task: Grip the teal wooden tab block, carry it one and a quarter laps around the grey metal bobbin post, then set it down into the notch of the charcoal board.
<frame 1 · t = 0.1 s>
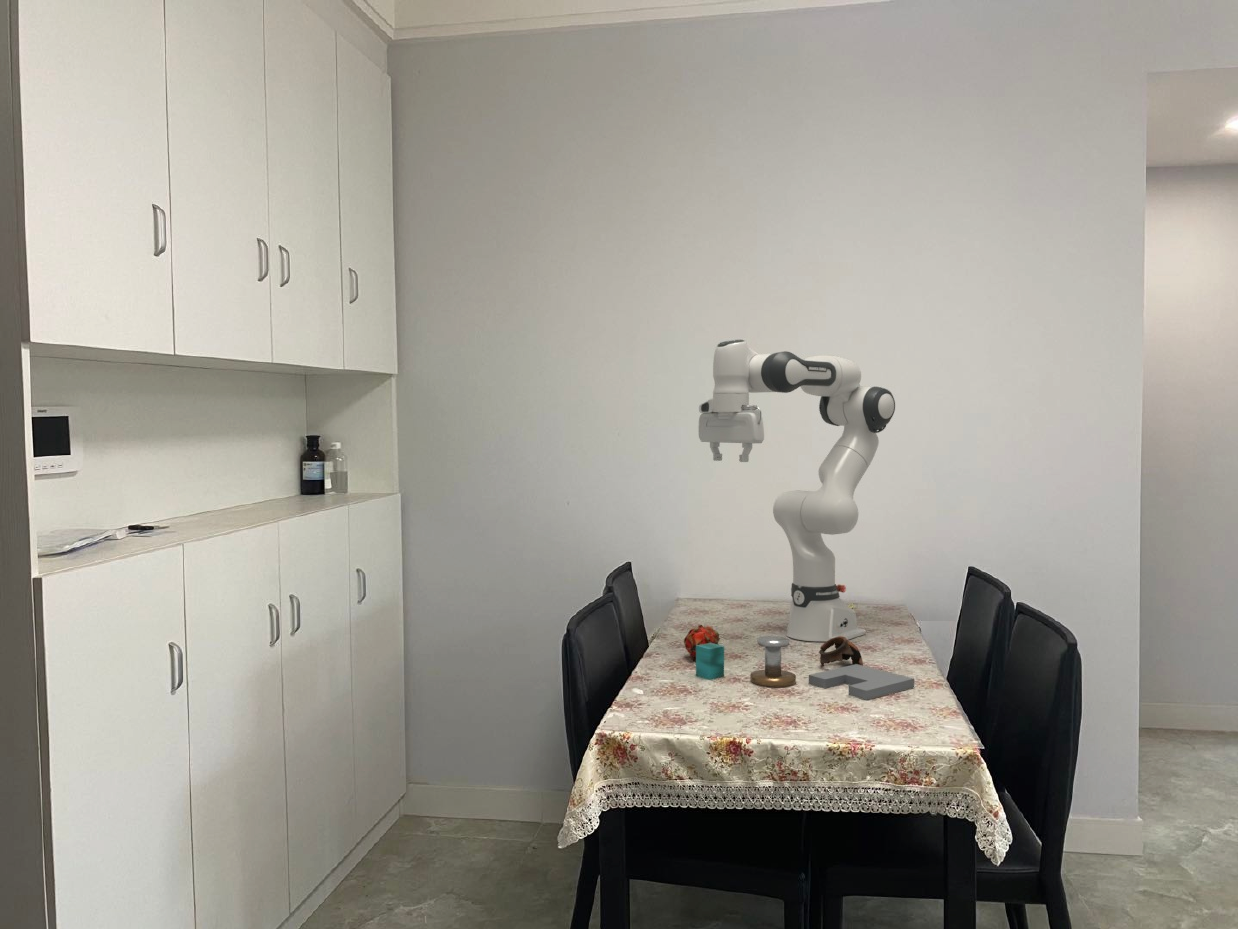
hand: (730, 461, 248), 48 cm above the table, fingers open, 8 cm apart
bobbin post: (772, 681, 223), on the table
tab block: (709, 676, 227), on the table
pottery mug: (842, 667, 236), on the table
dragon fruit: (701, 659, 245), on the table
notched board: (861, 685, 219), on the table
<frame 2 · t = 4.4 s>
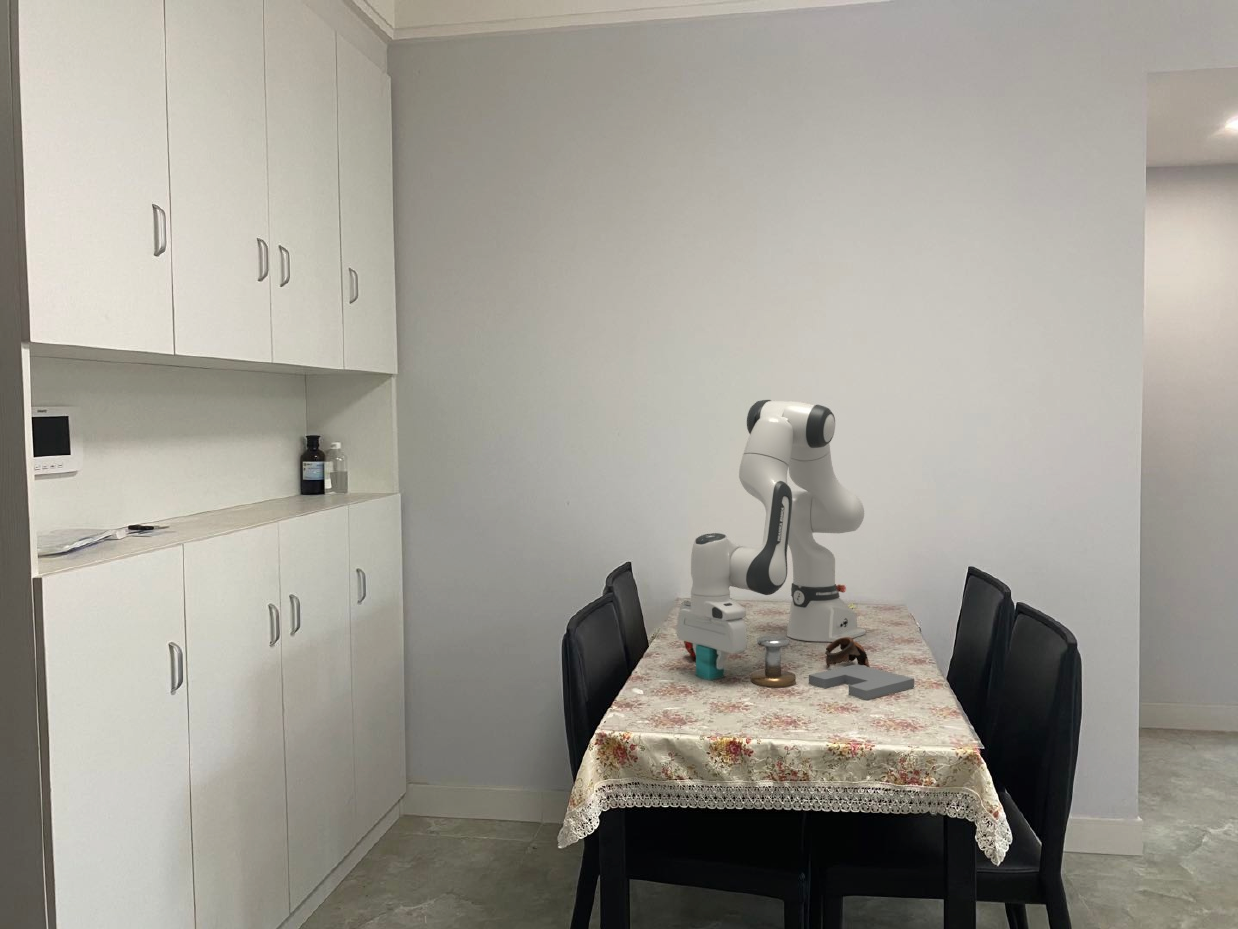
hand: (710, 666, 227), 2 cm above the table, fingers closed on tab block, 4 cm apart
tab block: (709, 676, 227), on the table, touching gripper
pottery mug: (848, 668, 236), on the table
everything else where it was.
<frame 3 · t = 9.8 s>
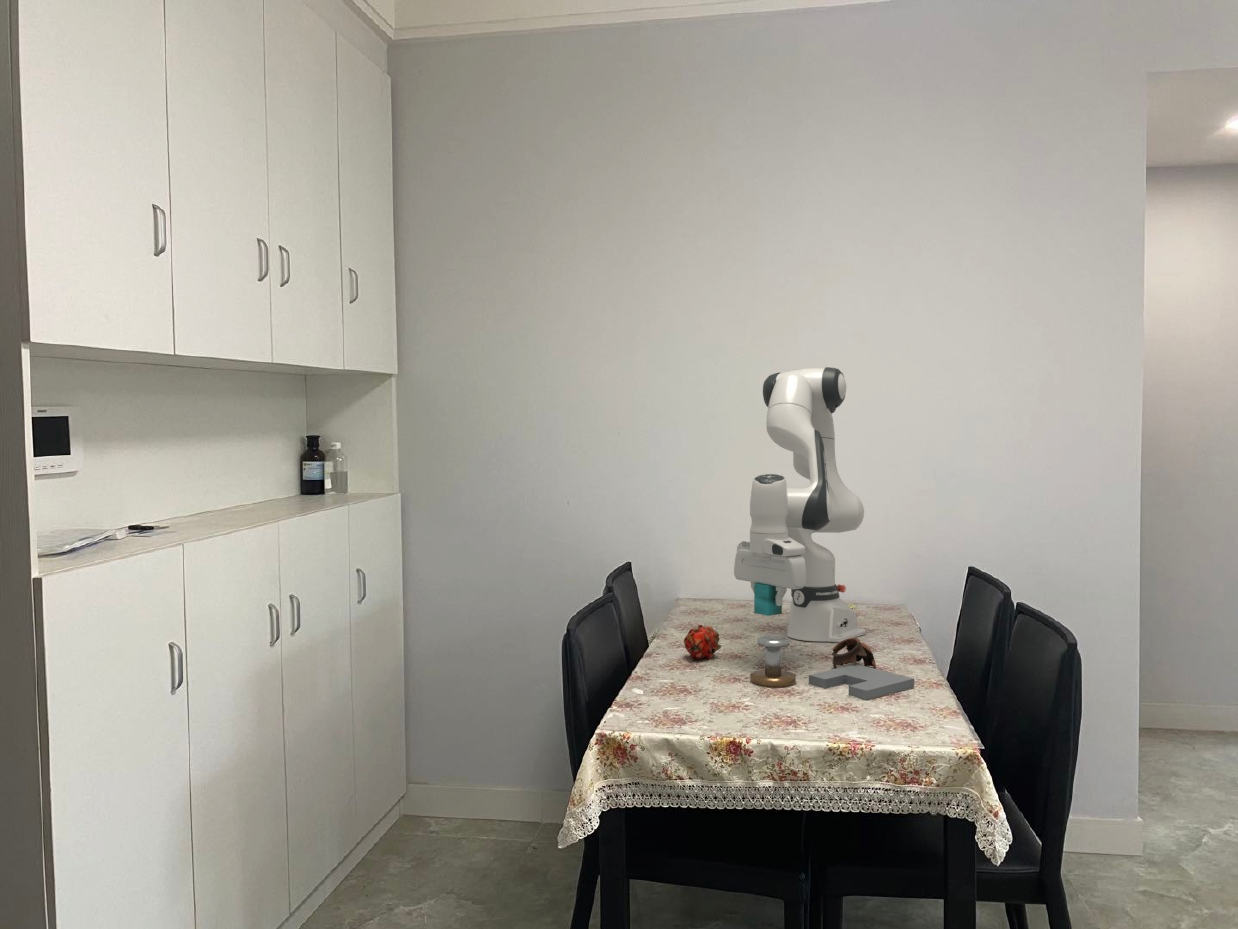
hand: (768, 603, 234), 15 cm above the table, fingers closed on tab block, 4 cm apart
tab block: (768, 613, 234), point 13 cm above the table, touching gripper
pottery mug: (854, 669, 235), on the table
everything else where it was.
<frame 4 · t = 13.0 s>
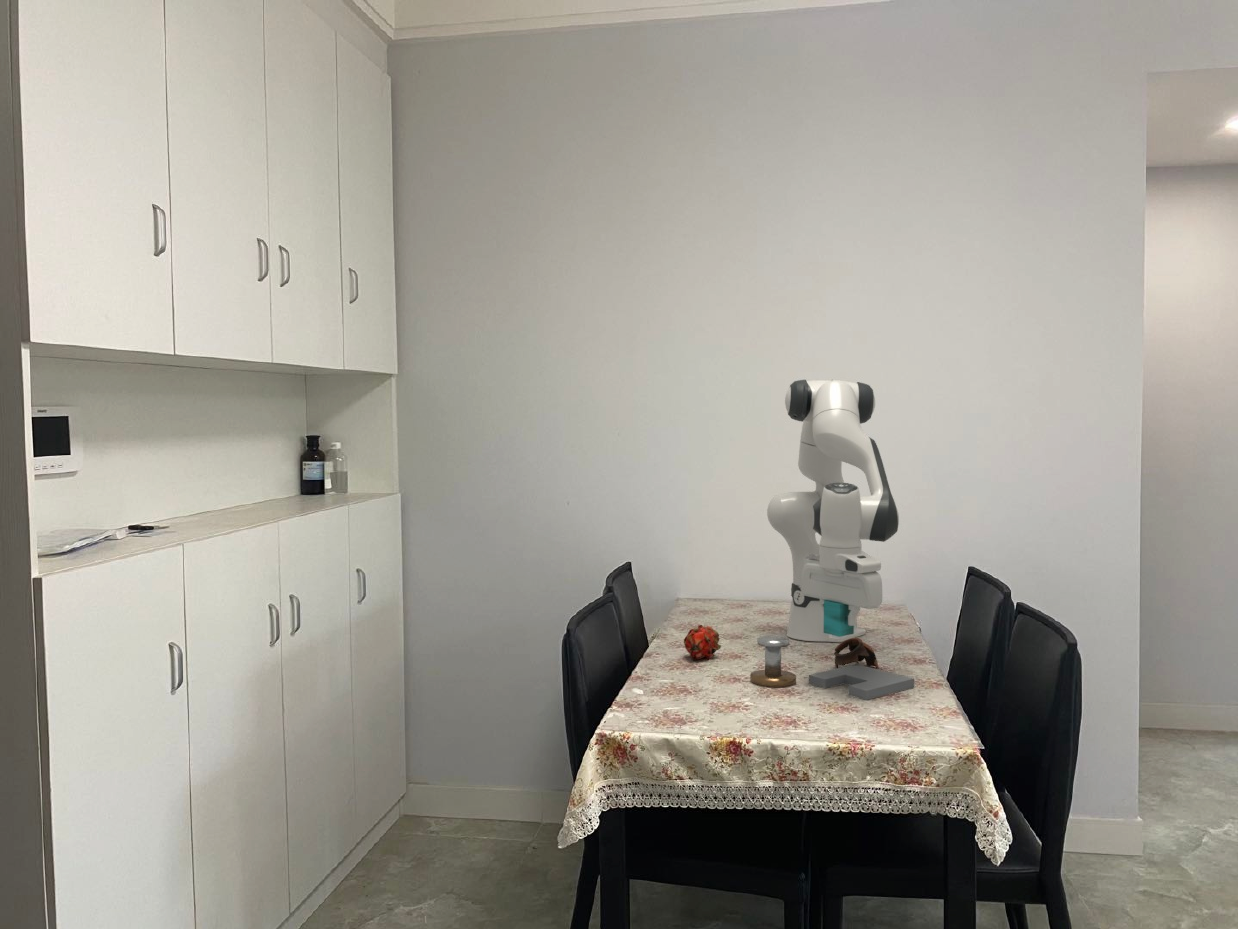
hand: (839, 622, 216), 15 cm above the table, fingers closed on tab block, 4 cm apart
tab block: (838, 633, 216), point 12 cm above the table, touching gripper
when the fingers open (4 cm above the table, at t = 15.7 s): tab block drops 2 cm, on the table.
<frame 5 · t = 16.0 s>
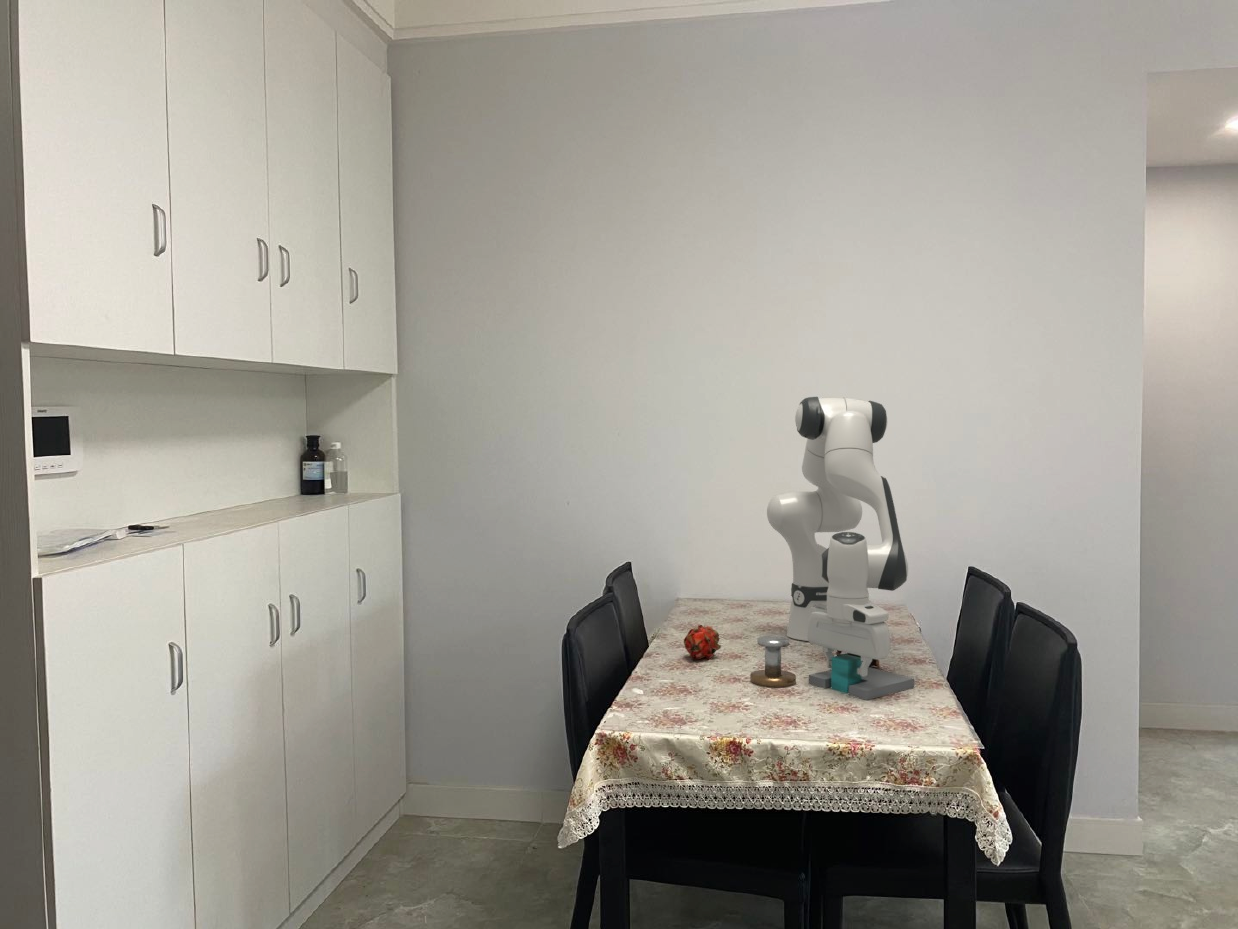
hand: (846, 672, 216), 4 cm above the table, fingers open, 7 cm apart
tab block: (846, 689, 216), on the table
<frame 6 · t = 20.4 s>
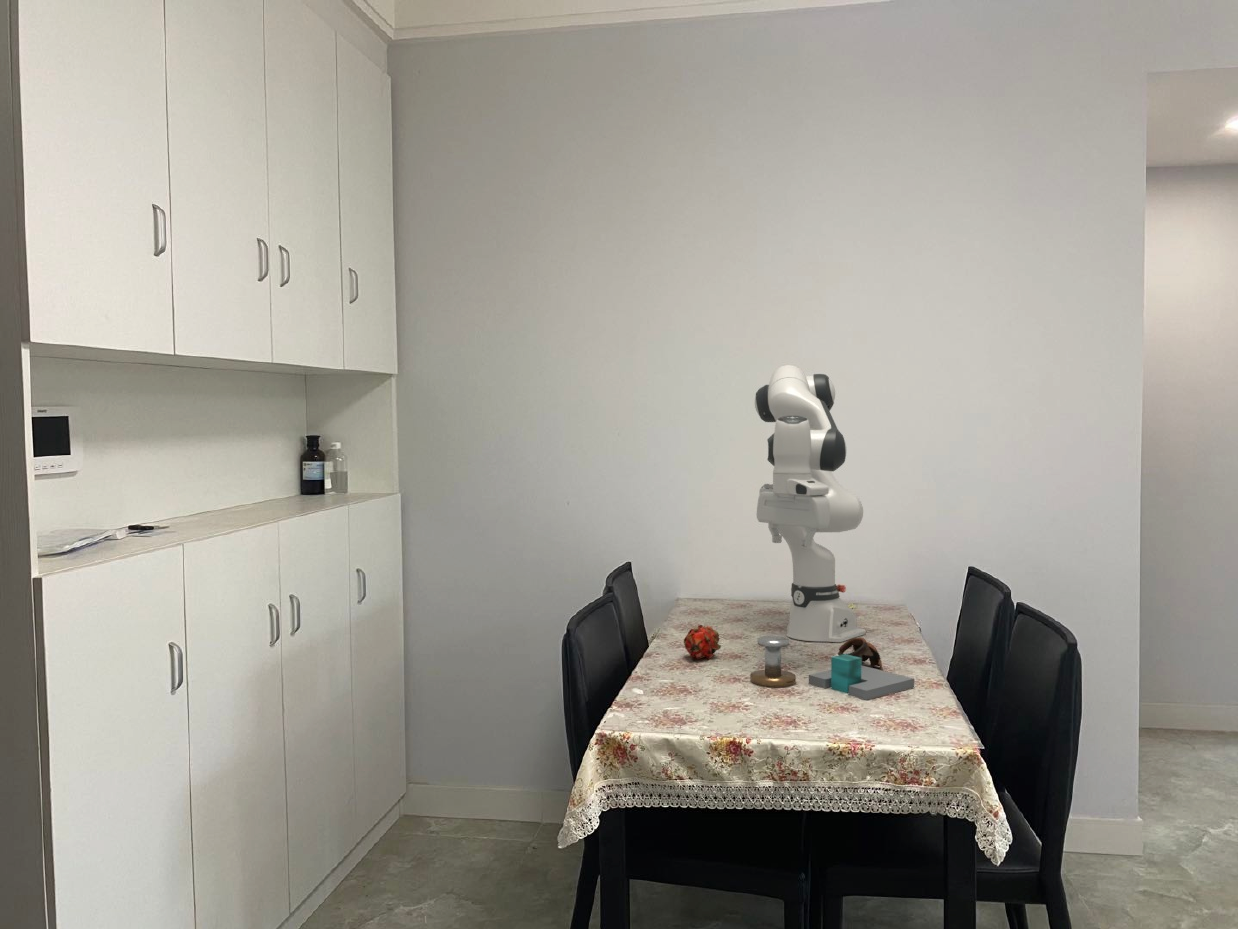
hand: (791, 544, 233), 29 cm above the table, fingers open, 8 cm apart
at the end: tab block 0.2 cm from the target spot on the notched board, point 0.0 cm above the notched board's base; tab block tilted 0°; the gripper is holding nothing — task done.
